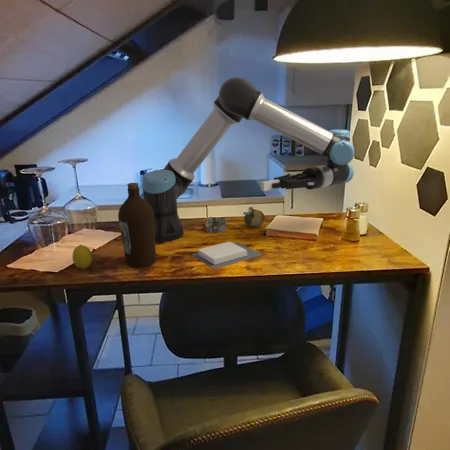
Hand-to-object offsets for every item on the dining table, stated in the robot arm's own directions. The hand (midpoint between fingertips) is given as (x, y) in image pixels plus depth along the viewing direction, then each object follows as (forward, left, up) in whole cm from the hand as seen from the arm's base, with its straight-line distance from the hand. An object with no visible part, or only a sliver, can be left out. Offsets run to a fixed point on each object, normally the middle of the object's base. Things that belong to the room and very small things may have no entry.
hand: (262, 186), depth 130 cm
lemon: (+26, -51, -21) cm, 61 cm away
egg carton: (-17, -20, -21) cm, 34 cm away
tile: (+7, -7, -19) cm, 21 cm away
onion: (-21, -6, -21) cm, 30 cm away
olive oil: (+18, -36, -21) cm, 45 cm away
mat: (+10, -10, -21) cm, 25 cm away
